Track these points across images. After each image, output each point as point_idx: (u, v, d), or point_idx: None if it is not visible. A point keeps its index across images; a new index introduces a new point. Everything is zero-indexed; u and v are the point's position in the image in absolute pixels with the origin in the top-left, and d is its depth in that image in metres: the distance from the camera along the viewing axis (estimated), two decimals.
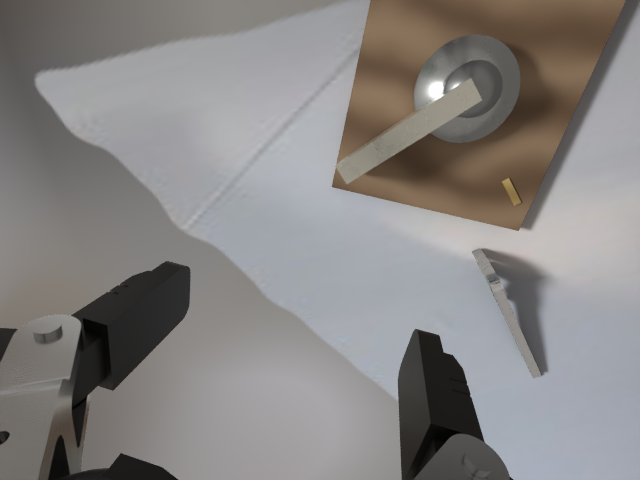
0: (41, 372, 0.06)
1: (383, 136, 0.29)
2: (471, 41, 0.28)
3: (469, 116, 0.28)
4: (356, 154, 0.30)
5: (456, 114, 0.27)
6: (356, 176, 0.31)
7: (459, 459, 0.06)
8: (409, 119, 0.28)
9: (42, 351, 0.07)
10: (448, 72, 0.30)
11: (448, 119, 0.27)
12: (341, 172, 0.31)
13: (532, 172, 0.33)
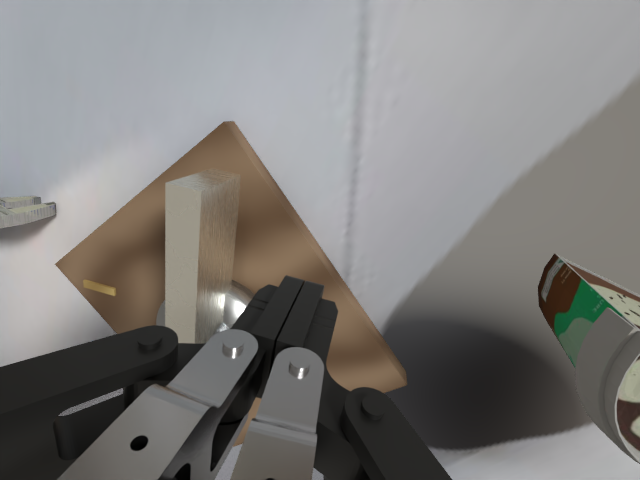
0: (208, 385, 0.07)
1: (195, 275, 0.19)
2: None
3: None
4: (196, 230, 0.18)
5: None
6: (168, 204, 0.17)
7: (284, 361, 0.08)
8: (194, 312, 0.20)
9: (220, 363, 0.07)
10: None
11: None
12: (187, 191, 0.17)
13: (110, 312, 0.30)
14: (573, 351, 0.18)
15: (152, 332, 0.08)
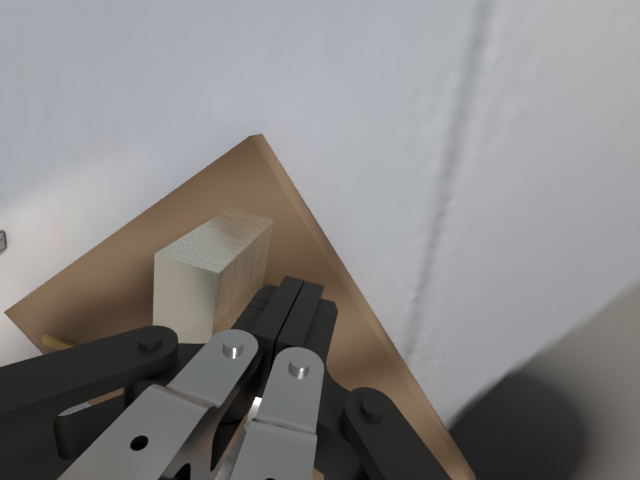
0: (208, 385, 0.07)
1: None
2: None
3: None
4: (207, 333, 0.10)
5: None
6: (158, 288, 0.10)
7: (284, 361, 0.08)
8: None
9: (220, 363, 0.07)
10: None
11: None
12: (193, 271, 0.09)
13: None
14: None
15: (152, 332, 0.08)
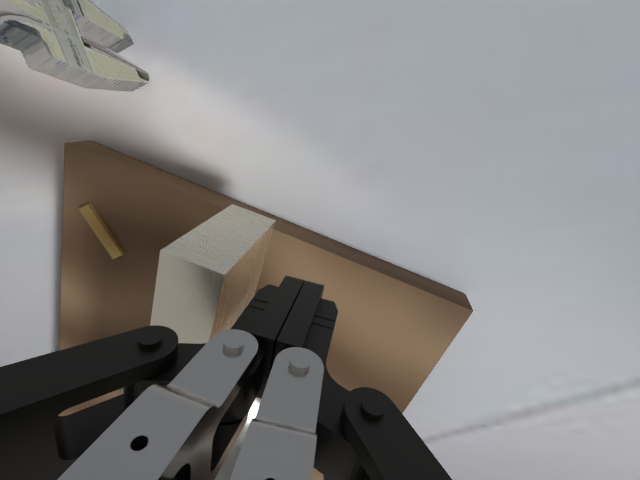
0: (208, 385, 0.07)
1: None
2: None
3: None
4: (206, 331, 0.10)
5: None
6: (160, 285, 0.10)
7: (284, 361, 0.08)
8: None
9: (220, 363, 0.07)
10: None
11: None
12: (198, 271, 0.09)
13: (81, 259, 0.18)
14: None
15: (152, 332, 0.08)
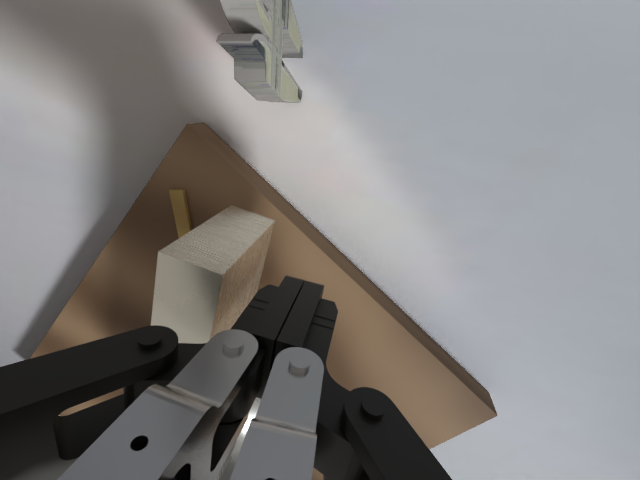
0: (208, 385, 0.07)
1: None
2: None
3: None
4: (206, 332, 0.10)
5: None
6: (159, 286, 0.10)
7: (284, 361, 0.08)
8: None
9: (220, 363, 0.07)
10: (239, 437, 0.18)
11: None
12: (196, 271, 0.09)
13: (142, 233, 0.17)
14: None
15: (152, 332, 0.08)
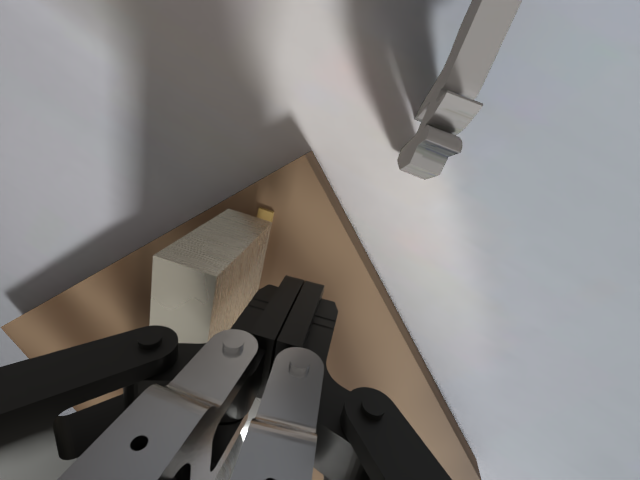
0: (208, 385, 0.07)
1: None
2: None
3: None
4: (203, 334, 0.10)
5: None
6: (155, 290, 0.10)
7: (284, 361, 0.08)
8: None
9: (220, 363, 0.07)
10: None
11: None
12: (191, 273, 0.10)
13: None
14: None
15: (152, 332, 0.08)
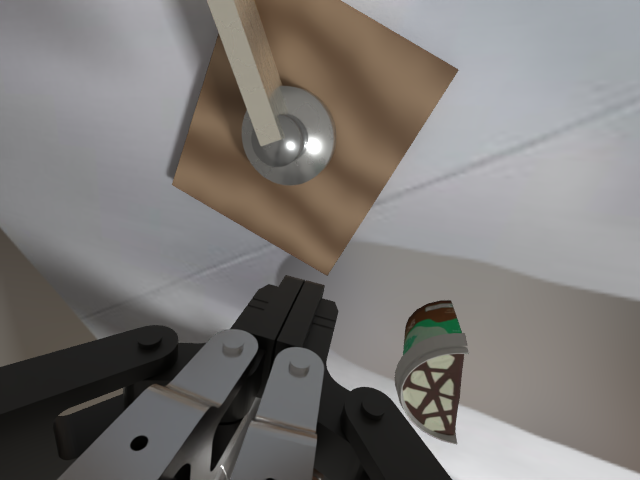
0: (208, 385, 0.07)
1: (243, 34, 0.25)
2: (326, 149, 0.31)
3: (252, 134, 0.28)
4: None
5: (252, 120, 0.27)
6: None
7: (284, 361, 0.08)
8: (256, 69, 0.25)
9: (220, 363, 0.07)
10: (306, 124, 0.30)
11: (249, 112, 0.27)
12: None
13: None
14: (423, 335, 0.33)
15: (152, 332, 0.08)
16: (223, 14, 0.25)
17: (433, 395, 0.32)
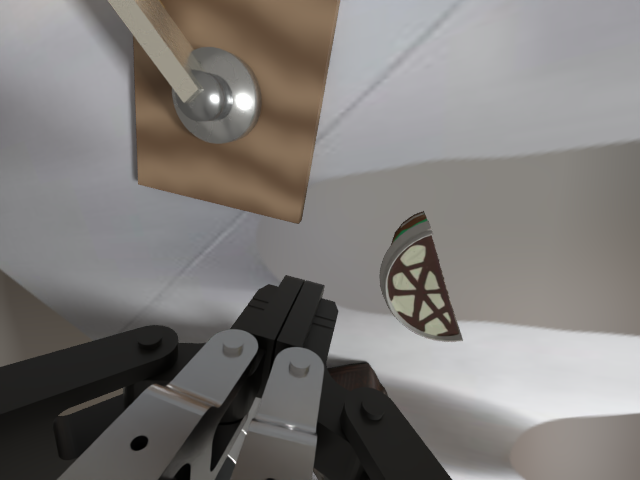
0: (208, 385, 0.07)
1: (136, 6, 0.28)
2: (249, 94, 0.32)
3: (176, 97, 0.31)
4: None
5: (169, 81, 0.29)
6: None
7: (284, 361, 0.08)
8: (156, 33, 0.28)
9: (220, 363, 0.07)
10: (225, 78, 0.32)
11: (164, 74, 0.29)
12: None
13: None
14: None
15: (152, 332, 0.08)
16: None
17: (421, 296, 0.31)
